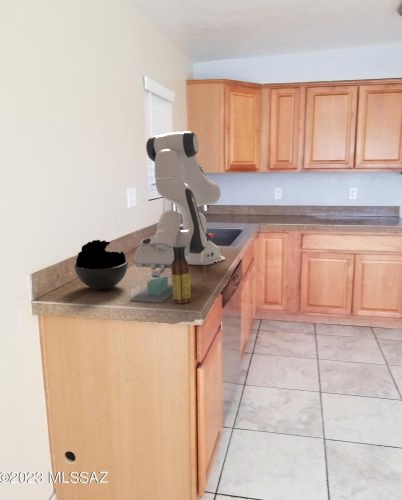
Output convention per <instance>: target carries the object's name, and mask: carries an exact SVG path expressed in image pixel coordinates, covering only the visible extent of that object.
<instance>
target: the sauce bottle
mask: <svg viewBox="0 0 402 500" xmlns="http://www.w3.org/2000/svg"><path fill="white" fill-rule="evenodd" d="M173 251H174V260H173V262H172V264H171V282H172V285H171V286H172V289H173V294H172V298H173V301H174V303H176V304H182V305H183V304H188V303H190V302H191V300H192V293H191V292H192V291H191V278H190V264H188V262H187V261H186V259H185V246H184V245H175V246H173Z"/></svg>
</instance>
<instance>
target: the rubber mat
mask: <svg viewBox="0 0 402 500" xmlns="http://www.w3.org/2000/svg"><path fill="white" fill-rule="evenodd" d="M172 296H173V288H169V287H168V289H167V290H165V291H164V292H163V293H162V294H160V295H148V286H147V287H145V288H144V289H143V290H141V291H140V292H138V294H136V295H135V296H133V297H132V298H130V299H129V300H130V302H134V303H135V302H136V303H137V302H138V303H151V304H164V303H165V302H166V301H167V300H168V299H169V298H170V297H172Z"/></svg>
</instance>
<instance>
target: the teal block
mask: <svg viewBox="0 0 402 500" xmlns="http://www.w3.org/2000/svg"><path fill="white" fill-rule="evenodd" d="M146 285H147V287H148V295H160V294H162V293H163V292H164V291H165V290H167V289H168V288H169V278H168V277H167V276H160V278H157V277H153V278H152V279H150V280H149V281H147V283H146Z"/></svg>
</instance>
